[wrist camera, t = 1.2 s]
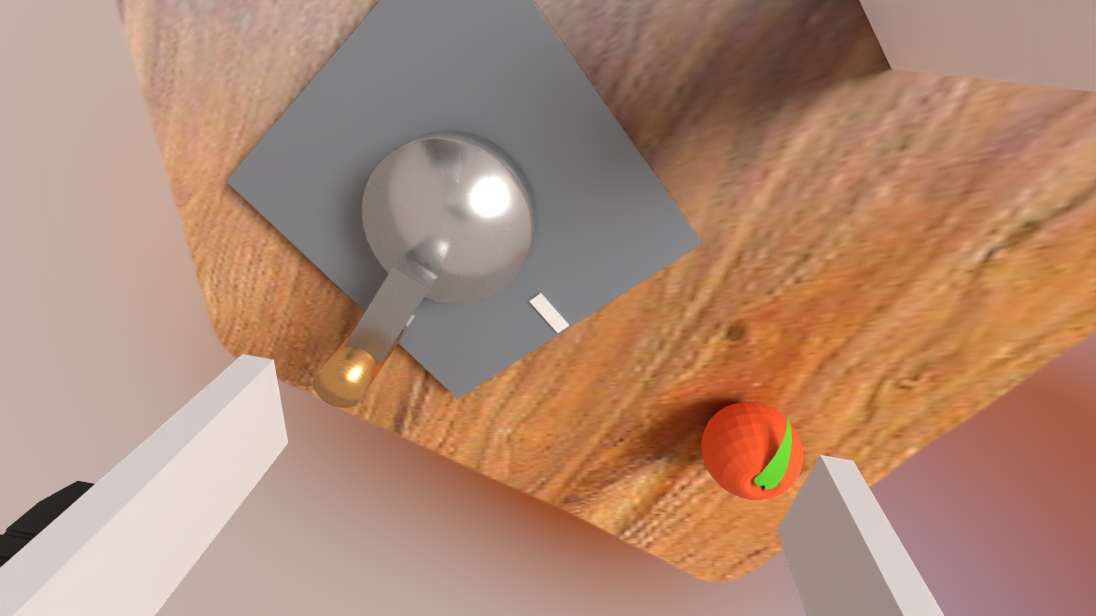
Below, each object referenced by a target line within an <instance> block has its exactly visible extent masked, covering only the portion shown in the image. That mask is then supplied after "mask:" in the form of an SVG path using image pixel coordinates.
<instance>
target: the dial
mask: <svg viewBox="0 0 1096 616" xmlns="http://www.w3.org/2000/svg"><path fill="white" fill-rule="evenodd" d="M362 220H363V226H364V231H365V234H366V238H367V240H368V243H369V245H370V247H371V249H372V251H373V253H374V255H375V256H376V258H377V260H378V261H379V262H380V264H381V265H382V266H383V268H384V269H385V270H386V271H387V272H388V273H389V274H388V276H387V277H386V279H385V281H384V282H383V284H382V286H381V287H380V289H379V290H378V292H377V294H376V295H375V297H374V299H373V300H372V302H371V303H370V305H369V307H368V308H367V310H366V312H365V313H364V315H363V317H362V318H361V320H360V321H359V323H358V325H357V326H356V328H355V329H354V331H353V332H352V333H351V334H350V335H349V336H348V338H347V339H346V340H345V341H344V342H343V343H342V345H341V346H340V347H339V348H338V349H337V351H336V352H335V353H334V354H333V355H332V356H331V358H330V359H329V360H328V361H327V362H326V363H325V365H324V366H323V367H322V368H321V369H320V370H319V372H318V373H317V374H316V375H315V377H314V380H313V386H314V389H315V391H316V393H317V394H318V396H319V397H320V398H321V399H322V400H324V401H325V402H326V403H328V404H330V405H332V406H335V407H339V408H349V407H353V406H355V405H356V404H357V403H358V402H359V401H360V400H361V398H362V397H363V395H364V394H365V392H366V391H367V389H368V388H369V386H370V385H371V383H372V382H373V380H374V379H375V377H376V376H377V374H378V373H379V371H380V370H381V368H382V367H383V365H384V364H385V362H386V361H387V359H388V358H389V356H390V355H391V353H392V352H393V350H394V349H395V347H396V346H397V344H398V343H399V341H400V340H401V338H402V337H403V333H404V329H403V328H404V327H405V325H406V324H407V322H408V321H409V319H410V318H411V316H412V315H413V313H414V312H415V310H416V309H417V307H418V306H419V305H420V303H421V302H422V300H423V299H424V297H425V298H428V299H431V300H434V301H438V302H444V303H453V304H462V303H471V302H476V301H480V300H483V299H486V298H488V297H491V296H493V295H495V294H496V293H498V292H500V291H501V290H503V289H504V288H505V287H506V286H507V285H509V284H510V282H511V281H512V280H513V279H514V278H515V277H516V275H517V274H518V273H519V271H520V270H521V268H522V266H523V264H524V261H525V259H526V256H527V253H528V251H529V248H530V245H531V242H532V239H533V236H534V232H535V226H536V205H535V200H534V196H533V192H532V189H531V187H530V184H529V182H528V180H527V178H526V176H525V174H524V172H523V171H522V170H521V168H520V167H519V165H518V164H517V163H516V162H515V161H514V160H513V158H512V157H511V156H510V155H509V154H507V153H506V152H505V151H504V150H503V149H502V148H500V147H499V146H497V145H496V144H494V143H493V142H491V141H489V140H487V139H485V138H483V137H481V136H478V135H475V134H472V133H468V132H462V131H452V130H447V131H437V132H433V133H429V134H426V135H423V136H421V137H418V138H416V139H415V140H413V141H411V142H409V143H407V144H405V145H404V146H402V147H400V148H398V149H397V150H395V151H393V152H392V153H390V154H389V155H388V156H386V157H385V158H384V159H383V160H382V161H381V162H380V163H379V164H378V165H377V167H376V168H375V169H374V171H373V173H372V174H371V176H370V178H369V180H368V182H367V185H366V187H365V191H364V195H363V201H362Z"/></svg>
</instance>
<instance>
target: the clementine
mask: <svg viewBox="0 0 1096 616" xmlns="http://www.w3.org/2000/svg"><path fill="white" fill-rule="evenodd" d="M701 447H702V456H703V459H704V463H705V465H706V467H707V470H708V472H709V473H710V474H711V476H712V477H713V478H714V480H715V481H716V482H717V483H718V484H719V485H720V486H721V487H723V488H724V489H725V490H727V491H728V492H730V493H732V494H734V495H736V496H739V497H741V498H745V499H750V500H762V499H769V498H772V497H775V496H778V495H780V494H782V493H784V492H785V491H787V490H788V489H789V488H790V487H791V486H792V485H793V483H794V482H795V480H796V478H797V477H798V475H799V474H800V471H801V467H802V460H803V451H802V446H801V442H800V439H799V436H798V434H797V432H796V431H795V429H794V428H793V426H792V425H791V423H790V422H789V418H788V415H787V419H786V418H785V417H784V416H782V415H781V414H780V413H779V412H777V411H776V410H774V409H772V408H770V407H768V406H766V405H762V404H757V403H751V402H740V403H735V404H731V405H729V406H726V407H724V408H723V409H721V410H720V411H718V412H717V413H716V414H715V415H713V417H712V418H711V419H710V420H709V421H708V423H707V425H706V428H705V430H704V433H703V435H702V444H701Z"/></svg>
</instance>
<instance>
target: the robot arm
mask: <svg viewBox="0 0 1096 616" xmlns="http://www.w3.org/2000/svg"><path fill="white" fill-rule="evenodd" d="M287 444H288V439H287V433H286V428H285V422H284V416H283V411H282V405H281V399H280V393H279V388H278V382H277V376H276V370H275V364H274V360H272V359H267V358H261V357H255V356H250V355H244V354H242V355H241V356H240V357H239V358H238V359H237V360H235V361H234V362H233V363H232V364H231V365H230V366H229V367H228V368H226V369H225V370H224V371H223V372H222V373H221V374H219V375H218V377H216V378H215V379H214V380H213V381H212V382H210V383H209V384H208V385H207V386H206V387H205V388H204V389H202V390H201V391H200V392H199V393H198V394H197V395H196V396H195V397H193V398H192V400H190V401H189V402H188V403H187V404H185V405H184V406H183V407H182V408H181V409H180V410H179V411H178V412H176V413H175V414H174V415H173V416H172V417H171V418H170V419H168V420H167V421H166V422H165V423H164V424H163V425H162V426H161V427H159V428H158V429H157V430H156V431H155V432H154V433H153V434H151V435H150V436H149V437H148V438H147V439H146V440H145V441H144V442H142V443H141V444H140V445H139V446H138V447H137V448H136V449H134V450H133V451H132V452H131V453H130V454H129V455H128V456H127V457H125V458H124V459H123V460H122V461H121V462H120V463H119V464H117V465H116V466H115V467H114V468H113V469H112V470H111V471H109V472H108V473H107V474H106V475H105V476H104V477H103V478H102V479H100V480H99V481H98V482H97V483H96V484H92V483H87V482H81V481H76V482H75V483H73V484H71V485H69V486H67V487H65V488H64V489H62V490H60V491H58V492H57V493H54V494H53V495H51V496H49V497H47V498H45V499H44V500H42V501H40V502H39V503H37V504H36V505H35V506H34V507H33V508H31V509H30V510H29V511H28V512H26V513H25V514H24V515H23V516H21V517H20V518H19V519H18V520H17V521H15V522H14V523H13V524H12V525H11V526H9V527H8V528H7V529H6V532H5V533H4V534H3V535H0V616H154V615H155V614H156V613H157V611H158V610H159V609H160V608H161V607H162V605H163V604H164V603H165V601H166V600H167V599H168V597H169V596H170V595H171V594H172V592H173V591H174V590H175V588H176V587H177V586H178V585H179V583H180V582H181V581H182V579H183V578H184V577H185V575H186V574H187V573H188V571H189V570H190V569H191V568H192V566H193V565H194V564H195V563H196V561H197V560H198V559H199V557H200V556H201V555H202V554H203V552H204V551H205V550H206V548H207V547H208V546H209V545H210V543H211V542H212V540H213V539H214V538H215V537H216V536H217V534H218V533H219V531H220V530H221V529H222V528H223V526H224V525H225V524H226V522H227V521H228V520H229V519H230V517H231V516H232V515H233V514H234V512H235V511H236V510H237V508H238V507H239V506H240V504H241V503H242V502H243V501H244V499H245V498H246V497H247V495H248V494H249V493H250V491H251V490H252V489H253V488H254V486H255V485H256V484H257V483H258V481H259V480H260V479H261V477H262V476H263V475H264V474H265V472H266V471H267V469H268V468H269V467H270V466H271V464H272V463H273V462H274V461H275V459H276V458H277V457H278V455H279V454H280V453H281V452H282V450H283V449H284V448H285V446H286V445H287ZM777 531H778V534H779V537H780V540H781V543H782V546H783V548H784V551H785V554H786V557H787V560H788V563H789V566H790V568H791V571H792V574H793V577H794V580H795V582H796V585H797V588H798V591H799V594H800V597H801V600H802V602H803V605H804V608H805V611H806V614H807V616H944V615H943V613H942V611H941V609H940V608H939V607H938V604H937V603H936V601H935V599H934V598H933V596H932V594H931V593H930V591H929V589H928V587H927V586H926V584H925V582H924V581H923V579H922V577H921V575H920V574H919V572H918V570H917V569H916V567H915V565H914V564H913V562H912V560H911V558H910V557H909V555H908V553H907V552H906V550H905V548H904V547H903V545H902V543H901V542H900V540H899V538H898V536H897V535H896V533H895V531H894V530H893V528H892V526H891V524H890V523H889V521H888V519H887V518H886V516H885V514H884V513H883V511H882V509H881V507H880V506H879V504H878V502H877V501H876V499H875V497H874V496H873V494H872V492H871V491H870V489H869V487H868V485H867V484H866V482H865V480H864V479H863V477H862V475H861V474H860V472H859V470H858V468H857V467H856V465H855V463H854V462H853V461H852V460H846V459H840V458H834V457H829V456H823V455H820V457H819V458H818V460H817V462H816V463H815V465H814V467H813V469H812V470H811V472H810V474H809V475H808V477H807V479H806V481H805V482H804V484H803V486H802V487H801V489H800V491H799V493H798V494H797V496H796V498H795V499H794V501H793V503H792V505H791V506H790V508H789V510H788V511H787V513H786V515H785V517H784V518H783V520H782V522H781V523H780V525H779V527H778V529H777Z"/></svg>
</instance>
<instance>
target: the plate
mask: <svg viewBox="0 0 1096 616" xmlns="http://www.w3.org/2000/svg"><path fill="white" fill-rule="evenodd" d="M447 130H452V131H462V132H468V133H472V134H475V135H478V136H481V137H483V138H485V139H487V140H489V141H491V142H493V143H494V144H496V145H497V146H499V147H500V148H502V149H503V150H504V151H505V152H506V153H507V154H509V155H510V156H511V157H512V158H513V160H514V161H515V162H516V163H517V164H518V165H519V167H520V168H521V170H522V171H523V172H524V174H525V176H526V178H527V180H528V182H529V184H530V187H531V189H532V192H533V196H534V200H535V205H536V226H535V232H534V236H533V239H532V242H531V245H530V248H529V251H528V253H527V256H526V259H525V261H524V264H523V266H522V268H521V270H520V271H519V273H518V274H517V275H516V277H515V278H514V279H513V280H512V281H511V282H510V284H509V285H507V286H506V287H505V288H504V289H503V290H501V291H500V292H498V293H496V294H495V295H493V296H491V297H488V298H486V299H483V300H480V301H476V302H471V303H462V304H453V303H444V302H438V301H434V300H431V299H428V298H425V297H424V299H423V300H422V302H421V303H420V305H419V306H418V307H417V309H416V310H415V312H414V313H413V315H412V316H411V318H410V319H409V321H408V322H407V324H406V325H405V327H404V328H403V329H404V333H403V337H402V338H401V340H400V341H399V344H400V345H401V346H402V347H403V348H404V349H405V350H406V351H407V352H408V353H409V354H410V355H411V356H412V357H413V358H415V359H416V360H417V361H418V362H419V363H420V364H421V365H422V366H423V367H424V368H425V369H426V370H427V371H428V372H429V373H430V374H432V375H433V376H434V377H435V378H436V379H437V380H438V381H439V382H440V383H441V384H442V385H443V386H444V387H445V388H446V389H448V390H449V391H450V392H451V393H452V394H453V395H454V396H455V397H456V398H457V399H458V398H459V397H461V396H463V395H464V394H466V393H467V392H469V391H470V390H472V389H474V388H475V387H477V386H478V385H480V384H481V383H483V382H485V381H486V380H488V379H489V378H491V377H492V376H494V375H496V374H497V373H499V372H500V371H502V370H503V369H505V368H507V367H508V366H510V365H511V364H513V363H514V362H516V361H518V360H519V359H521V358H522V357H524V356H525V355H527V354H529V353H530V352H532V351H533V350H535V349H536V348H538V347H540V346H541V345H543V344H544V343H546V342H547V341H549V340H551V339H552V338H554V337H555V336H557V335H559V334H560V333H562V332H563V331H565V330H566V329H568V328H570V327H571V326H573V325H574V324H576V323H577V322H579V321H581V320H582V319H584V318H585V317H587V316H588V315H590V314H592V313H593V312H595V311H596V310H598V309H599V308H601V307H603V306H604V305H606V304H607V303H609V302H610V301H612V300H614V299H615V298H617V297H618V296H620V295H621V294H623V293H625V292H626V291H628V290H629V289H631V288H632V287H634V286H636V285H637V284H639V283H640V282H642V281H643V280H645V279H647V278H648V277H650V276H651V275H653V274H655V273H656V272H658V271H659V270H661V269H662V268H664V267H666V266H667V265H669V264H670V263H672V262H673V261H675V260H677V259H678V258H680V257H681V256H683V255H684V254H686V253H688V252H689V251H691V250H692V249H694V248H695V247H697V246H699V245H700V244H702V242H701V240H700V238H699V236H698V234H697V233H696V231H695V230H694V229H693V227H692V226H691V224H690V223H689V221H688V220H687V219H686V217H685V216H684V214H683V213H682V211H681V210H680V209H679V207H678V206H677V204H676V203H675V201H674V200H673V199H672V197H671V196H670V194H669V193H668V191H667V190H666V189H665V187H664V186H663V184H662V183H661V181H660V180H659V179H658V177H657V176H656V174H655V173H654V171H653V170H652V169H651V167H650V166H649V164H648V163H647V161H646V160H645V159H644V157H643V156H642V154H641V153H640V152H639V150H638V149H637V147H636V146H635V144H634V143H633V142H632V140H631V139H630V137H629V136H628V134H627V133H626V132H625V130H624V129H623V127H622V126H621V124H620V123H619V122H618V120H617V119H616V117H615V116H614V114H613V113H612V112H611V110H610V109H609V107H608V106H607V104H606V103H605V102H604V100H603V99H602V97H601V96H600V94H599V93H598V92H597V90H596V89H595V87H594V86H593V84H592V83H591V82H590V80H589V79H588V77H587V76H586V75H585V73H584V72H583V70H582V69H581V67H580V66H579V65H578V63H577V62H576V60H575V59H574V57H573V56H572V55H571V53H570V52H569V50H568V49H567V47H566V46H565V45H564V43H563V42H562V40H561V39H560V37H559V36H558V35H557V33H556V32H555V30H554V29H553V27H552V26H551V25H550V23H549V22H548V20H547V19H546V17H545V16H544V15H543V13H542V12H541V10H540V9H539V7H538V6H537V5H536V3H535V2H534V0H380V1H379V2H378V3H377V5H376V6H375V7H374V8H373V9H372V10H371V12H370V13H369V14H368V15H367V16H366V17H365V19H364V20H363V21H362V22H361V23H360V24H359V26H358V27H357V28H356V29H355V30H354V32H353V33H352V34H351V35H350V36H349V37H348V39H347V40H346V41H345V42H344V43H343V44H342V46H341V47H340V48H339V49H338V50H337V51H336V53H335V54H334V55H333V56H332V57H331V58H330V60H329V61H328V62H327V63H326V64H325V65H324V67H323V68H322V69H321V70H320V71H319V72H318V74H317V75H316V76H315V77H314V78H313V79H312V81H311V82H310V83H309V84H308V85H307V87H306V88H305V89H304V90H303V91H302V92H301V94H300V95H299V96H298V97H297V98H296V99H295V101H294V102H293V103H292V104H291V105H290V106H289V108H288V109H287V110H286V111H285V112H284V113H283V115H282V116H281V117H280V118H279V119H278V120H277V122H276V123H275V124H274V125H273V126H272V127H271V129H270V130H269V131H268V132H267V133H266V134H265V136H264V137H263V138H262V139H261V140H260V142H259V143H258V144H257V145H256V146H255V147H254V149H253V150H252V151H251V152H250V153H249V154H248V156H247V157H246V158H245V159H244V160H243V161H242V163H241V164H240V165H239V166H238V167H237V168H236V170H235V171H234V172H233V173H232V174H231V175H230V177H229V178H228V179H227V180H226V182H227V183H228V184H229V185H230V186H232V187H233V188H234V189H235V190H236V191H237V192H238V193H239V194H240V195H241V196H242V197H243V198H244V199H245V200H246V201H247V202H249V203H250V204H251V205H252V206H253V207H254V208H255V209H256V210H257V211H258V212H259V213H260V214H261V215H262V216H263V217H264V218H266V219H267V220H268V221H269V222H270V223H271V224H272V225H273V226H274V227H275V228H276V229H277V230H278V231H279V232H280V233H282V234H283V235H284V236H285V237H286V238H287V239H288V240H289V241H290V242H291V243H292V244H293V245H294V246H295V247H296V248H297V249H299V250H300V251H301V252H302V253H303V254H304V255H305V256H306V257H307V258H308V259H309V260H310V261H311V262H312V263H313V264H315V265H316V266H317V267H318V268H319V269H320V270H321V271H322V272H323V273H324V274H325V275H326V276H327V277H328V278H329V279H330V280H332V281H333V282H334V283H335V284H336V285H337V286H338V287H339V288H340V289H341V290H342V291H343V292H344V293H345V294H346V295H347V296H349V297H350V298H351V299H352V300H353V301H354V302H355V303H356V304H357V305H358V306H359V307H360V308H361V309H362V310H363V311H365V312H366V310H367V308H368V307H369V305H370V303H371V302H372V300H373V299H374V297H375V295H376V294H377V292H378V290H379V289H380V287H381V286H382V284H383V282H384V281H385V279H386V277H387V276H388V274H389V273H388V272H387V271H386V270H385V269H384V268H383V266H382V265H381V264H380V262H379V261H378V260H377V258H376V256H375V255H374V253H373V251H372V249H371V247H370V245H369V243H368V240H367V238H366V234H365V231H364V226H363V220H362V201H363V195H364V191H365V187H366V185H367V182H368V180H369V178H370V176H371V174H372V173H373V171H374V169H375V168H376V167H377V165H378V164H379V163H380V162H381V161H382V160H383V159H384V158H385V157H386V156H388V155H389V154H390V153H392V152H393V151H395V150H397V149H398V148H400V147H402V146H404V145H405V144H407V143H409V142H411V141H413V140H415V139H416V138H418V137H421V136H423V135H426V134H429V133H433V132H437V131H447Z"/></svg>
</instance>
